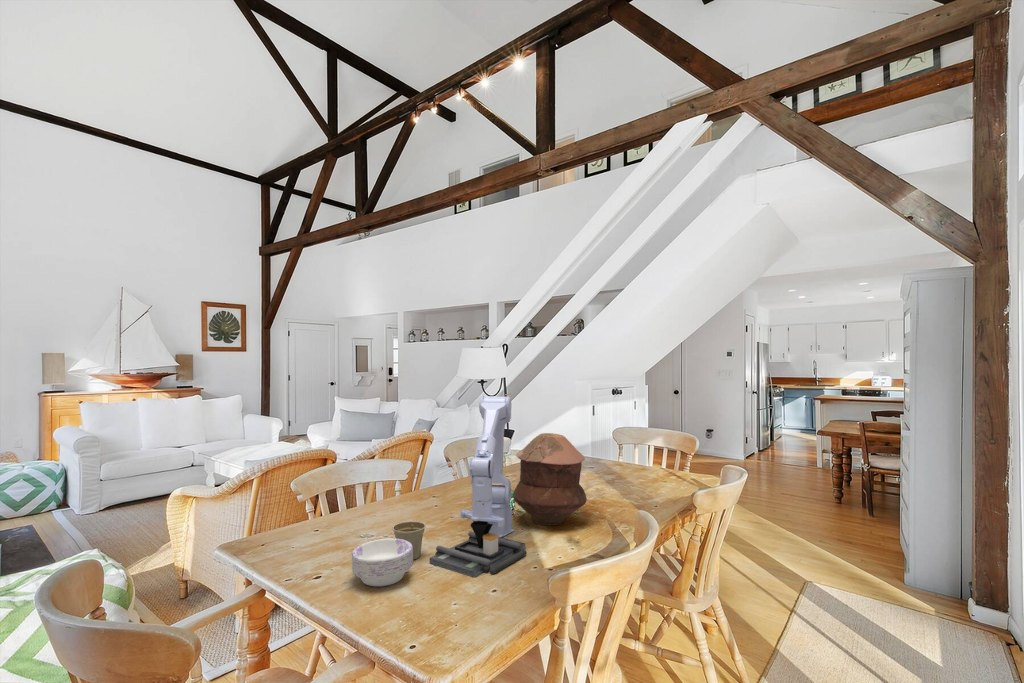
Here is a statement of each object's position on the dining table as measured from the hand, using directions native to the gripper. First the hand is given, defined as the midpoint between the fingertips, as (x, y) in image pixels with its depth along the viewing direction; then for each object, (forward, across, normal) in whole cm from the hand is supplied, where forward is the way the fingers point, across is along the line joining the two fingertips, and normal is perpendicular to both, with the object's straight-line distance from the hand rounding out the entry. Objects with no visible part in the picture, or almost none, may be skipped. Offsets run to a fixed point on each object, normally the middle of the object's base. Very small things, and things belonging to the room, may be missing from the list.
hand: (482, 547), depth 145 cm
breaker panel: (+3, -1, 0) cm, 3 cm away
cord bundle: (+3, 0, 0) cm, 3 cm away
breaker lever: (+1, +3, 0) cm, 3 cm away
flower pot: (+3, -17, -12) cm, 21 cm away
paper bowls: (+3, -12, -26) cm, 29 cm away
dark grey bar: (+3, -1, +8) cm, 8 cm away
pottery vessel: (+3, 0, +38) cm, 38 cm away
